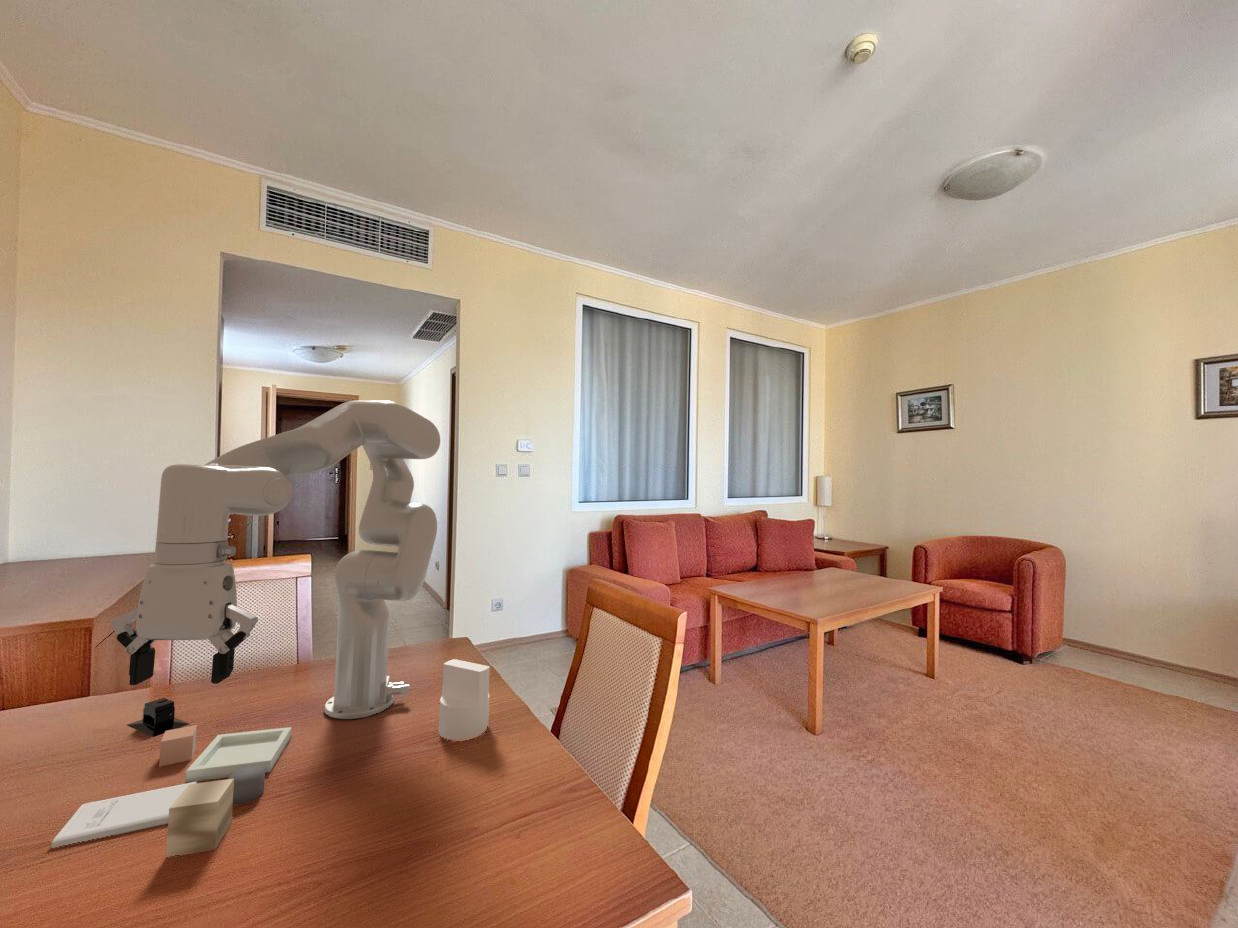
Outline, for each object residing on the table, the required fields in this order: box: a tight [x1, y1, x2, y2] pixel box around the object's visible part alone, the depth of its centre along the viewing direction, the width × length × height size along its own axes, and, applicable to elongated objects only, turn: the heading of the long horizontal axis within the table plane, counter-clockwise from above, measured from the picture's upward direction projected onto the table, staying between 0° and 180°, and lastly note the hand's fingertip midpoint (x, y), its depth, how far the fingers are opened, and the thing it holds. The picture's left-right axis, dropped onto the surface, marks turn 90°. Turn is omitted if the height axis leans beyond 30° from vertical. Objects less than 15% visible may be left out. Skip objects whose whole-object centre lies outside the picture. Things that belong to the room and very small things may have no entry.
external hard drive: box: [51, 781, 198, 849], centre depth 69 cm, size 2×8×12 cm
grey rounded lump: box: [227, 766, 266, 805], centre depth 74 cm, size 4×4×3 cm
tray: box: [185, 726, 293, 784], centre depth 83 cm, size 11×11×2 cm
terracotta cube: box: [158, 724, 198, 768], centre depth 83 cm, size 4×4×4 cm
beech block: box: [165, 778, 234, 858], centre depth 65 cm, size 5×5×6 cm
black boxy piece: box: [126, 697, 191, 738], centre depth 93 cm, size 12×7×5 cm, turn 66°
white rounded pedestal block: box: [438, 658, 491, 740], centre depth 95 cm, size 9×9×12 cm
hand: (181, 680), depth 68 cm, fingers open, 9 cm apart
